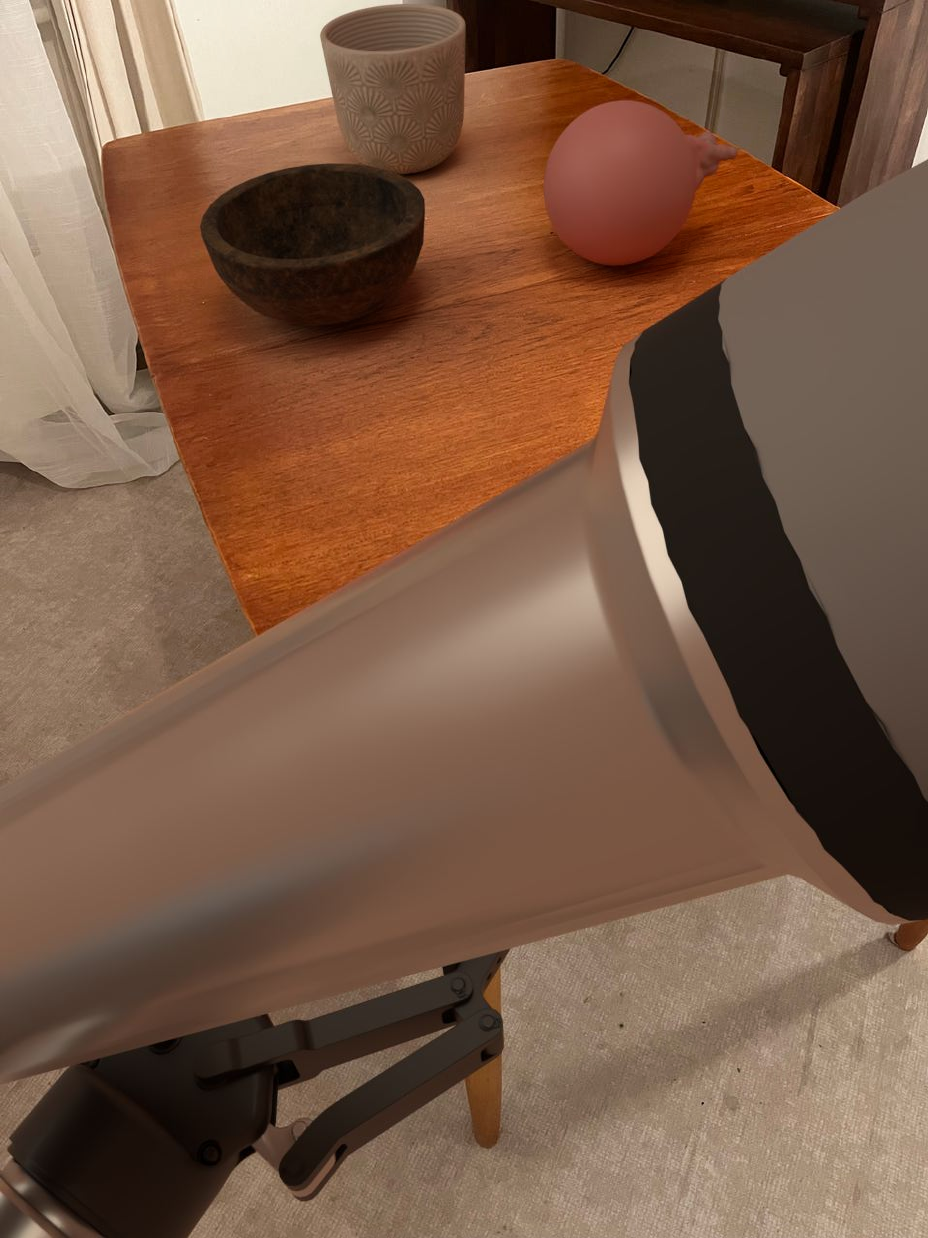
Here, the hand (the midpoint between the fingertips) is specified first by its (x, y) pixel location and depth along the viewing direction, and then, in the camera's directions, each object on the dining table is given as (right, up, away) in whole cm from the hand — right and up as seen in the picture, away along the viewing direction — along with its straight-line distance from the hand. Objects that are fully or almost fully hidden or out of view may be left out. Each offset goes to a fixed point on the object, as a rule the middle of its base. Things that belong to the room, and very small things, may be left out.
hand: (404, 786), depth 47 cm
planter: (-5, +67, +78) cm, 102 cm away
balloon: (+21, +47, +59) cm, 78 cm away
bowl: (-11, +41, +55) cm, 69 cm away
